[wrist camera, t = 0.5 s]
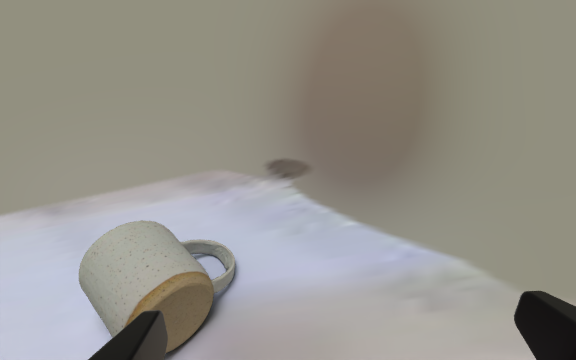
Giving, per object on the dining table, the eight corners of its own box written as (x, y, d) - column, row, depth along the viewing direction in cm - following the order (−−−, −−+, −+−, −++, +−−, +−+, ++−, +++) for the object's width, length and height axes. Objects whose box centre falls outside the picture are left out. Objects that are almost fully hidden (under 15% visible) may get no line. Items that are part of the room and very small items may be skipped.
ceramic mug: (152, 384, 22) (96, 333, 17) (107, 314, 26) (55, 260, 22) (259, 280, 27) (240, 220, 22) (206, 238, 32) (182, 181, 27)
